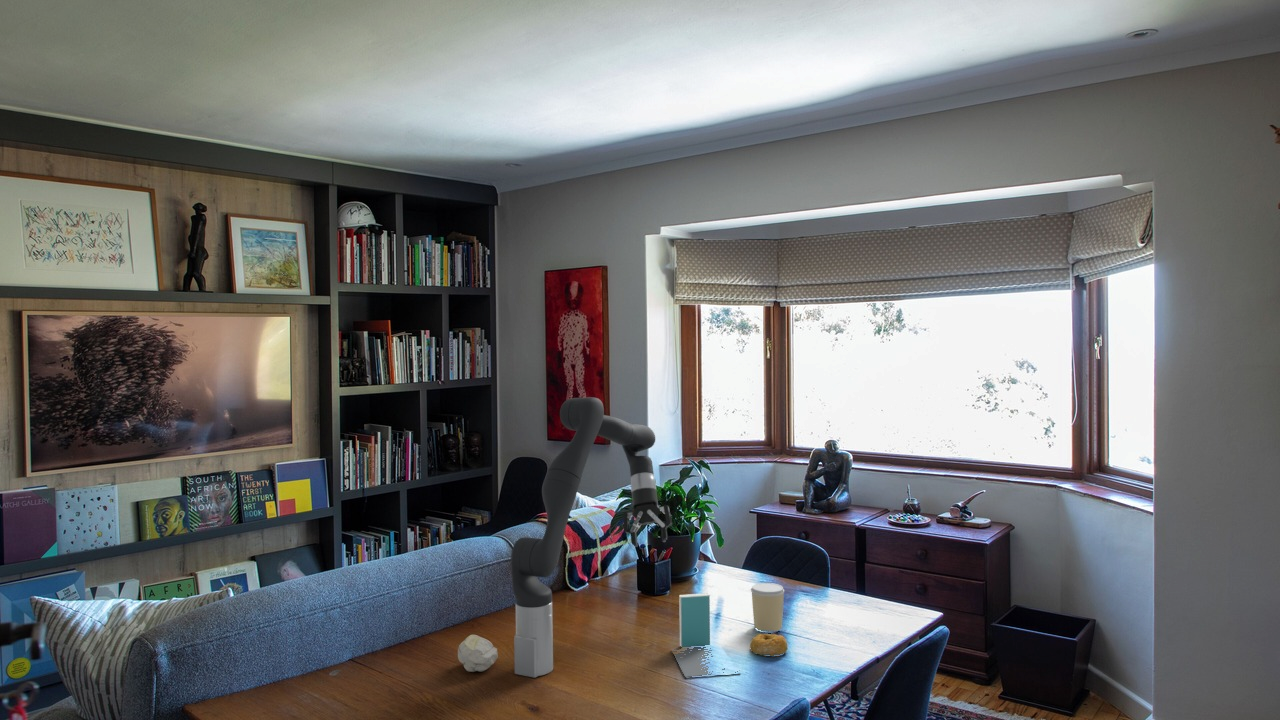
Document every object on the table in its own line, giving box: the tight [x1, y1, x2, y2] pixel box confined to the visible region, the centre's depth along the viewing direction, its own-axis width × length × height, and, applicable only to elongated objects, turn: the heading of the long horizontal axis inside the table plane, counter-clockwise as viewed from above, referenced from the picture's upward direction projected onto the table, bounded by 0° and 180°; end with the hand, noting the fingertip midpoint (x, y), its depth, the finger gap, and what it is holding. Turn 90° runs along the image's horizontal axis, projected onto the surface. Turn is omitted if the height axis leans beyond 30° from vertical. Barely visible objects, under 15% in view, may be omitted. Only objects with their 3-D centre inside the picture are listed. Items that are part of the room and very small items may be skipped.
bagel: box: [749, 633, 788, 656], centre depth 215 cm, size 10×11×5 cm
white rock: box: [457, 634, 499, 673], centre depth 205 cm, size 12×8×10 cm
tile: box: [678, 592, 711, 647], centre depth 218 cm, size 2×8×14 cm, turn 99°
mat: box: [671, 647, 738, 678], centre depth 207 cm, size 18×14×1 cm
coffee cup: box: [750, 582, 785, 632], centre depth 231 cm, size 9×9×12 cm
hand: (649, 543), depth 235 cm, fingers open, 8 cm apart
